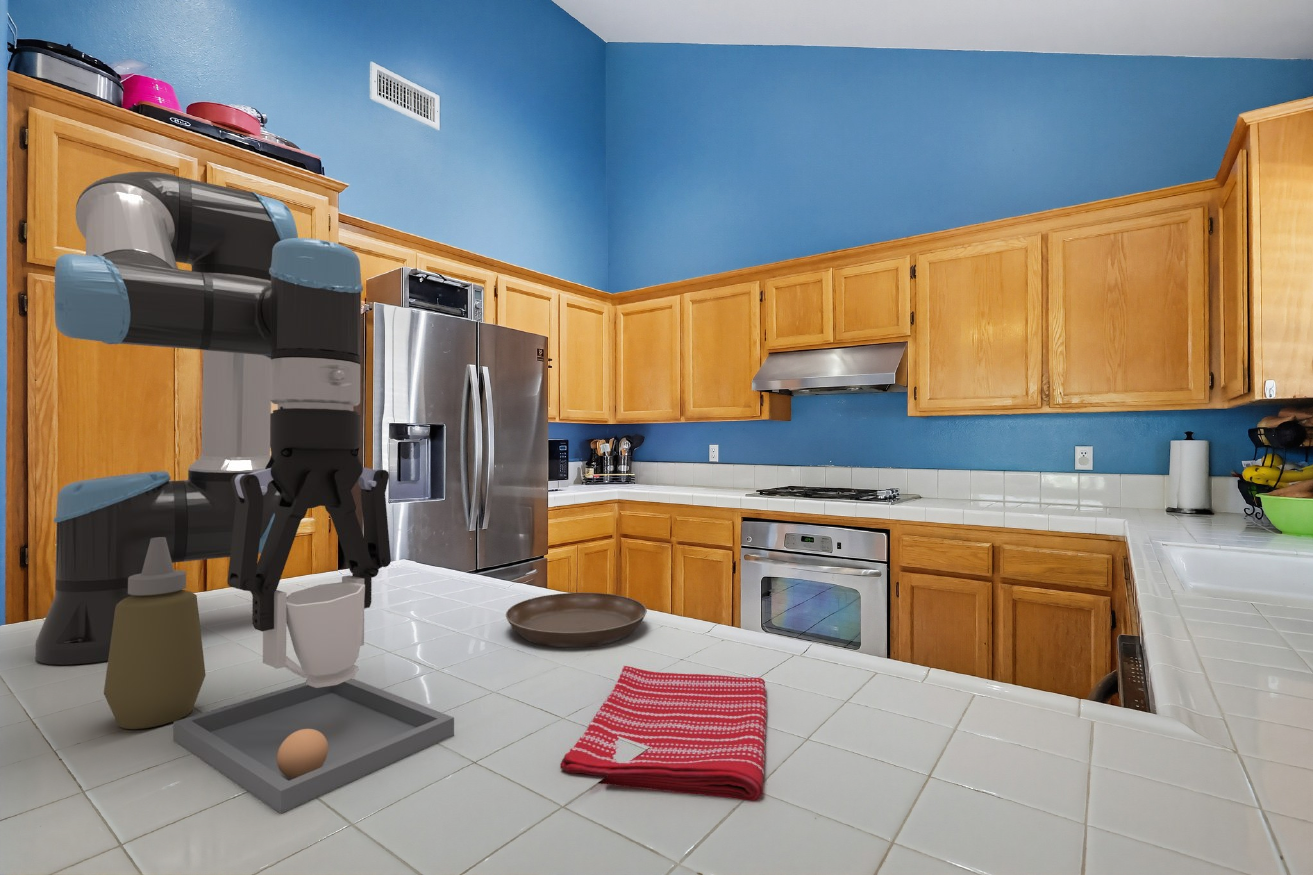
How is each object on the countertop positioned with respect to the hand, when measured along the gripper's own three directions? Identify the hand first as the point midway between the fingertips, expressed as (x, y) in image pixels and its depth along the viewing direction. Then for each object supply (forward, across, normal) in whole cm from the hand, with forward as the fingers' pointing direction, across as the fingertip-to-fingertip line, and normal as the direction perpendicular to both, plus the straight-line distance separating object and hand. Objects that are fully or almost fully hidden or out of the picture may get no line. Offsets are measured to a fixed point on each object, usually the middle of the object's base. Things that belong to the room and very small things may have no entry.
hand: (315, 653), depth 59 cm
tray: (+8, -1, -2) cm, 8 cm away
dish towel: (+9, +21, -27) cm, 35 cm away
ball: (+7, -5, -8) cm, 12 cm away
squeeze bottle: (+8, -7, +17) cm, 20 cm away
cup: (+2, 0, 0) cm, 2 cm away
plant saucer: (+8, +40, +3) cm, 41 cm away
